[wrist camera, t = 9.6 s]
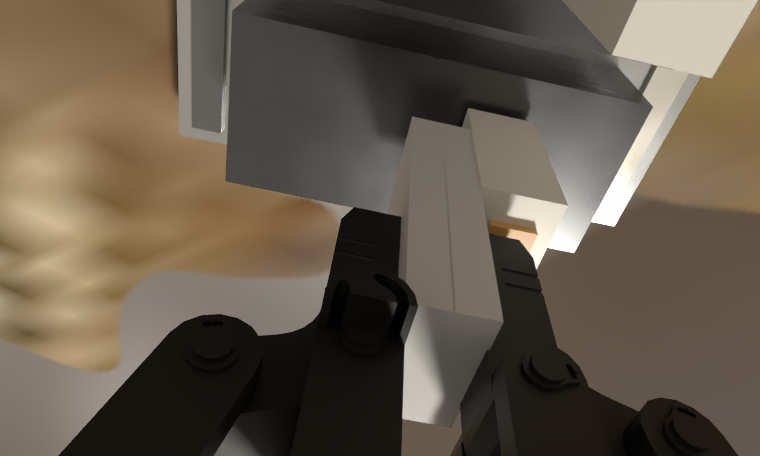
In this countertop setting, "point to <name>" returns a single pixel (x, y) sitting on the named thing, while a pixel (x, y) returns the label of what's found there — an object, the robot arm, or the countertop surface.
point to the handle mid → (666, 30)
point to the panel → (416, 94)
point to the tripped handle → (516, 180)
